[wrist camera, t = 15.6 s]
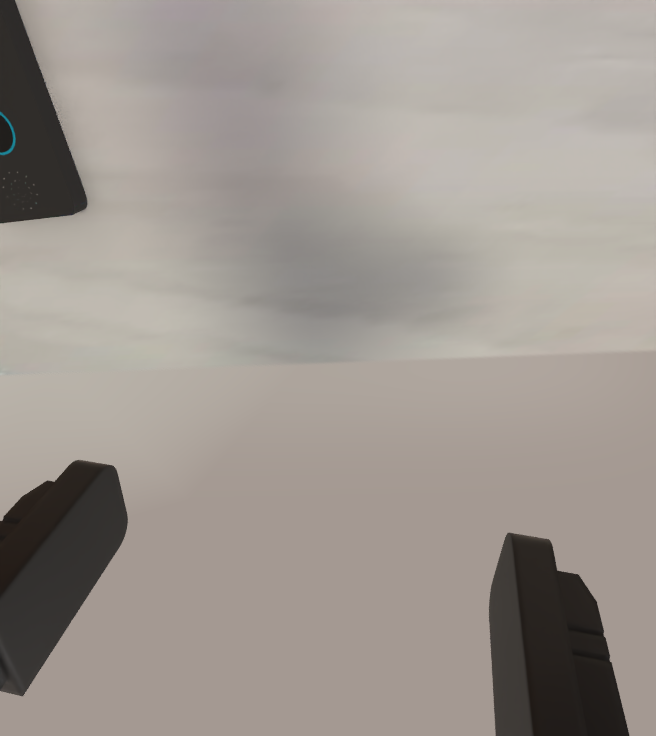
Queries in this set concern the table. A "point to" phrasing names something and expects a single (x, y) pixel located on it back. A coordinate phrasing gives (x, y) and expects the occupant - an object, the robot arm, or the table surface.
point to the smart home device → (30, 135)
